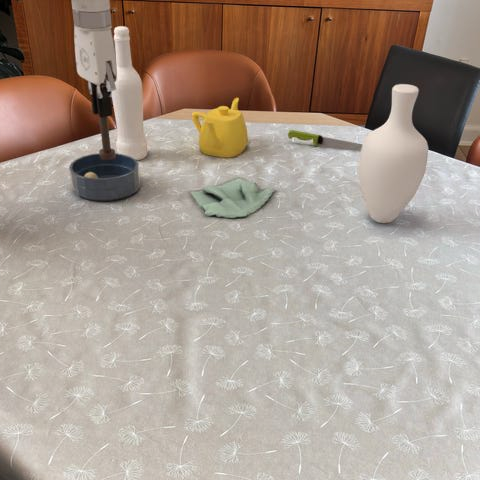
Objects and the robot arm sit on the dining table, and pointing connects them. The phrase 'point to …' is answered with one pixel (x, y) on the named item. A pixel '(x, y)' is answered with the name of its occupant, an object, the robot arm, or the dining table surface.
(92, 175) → the ball
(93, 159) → the bowl
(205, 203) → the cloth
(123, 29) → the bottle
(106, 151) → the muddler
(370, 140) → the vase
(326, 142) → the kitchen knife
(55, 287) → the dining table surface
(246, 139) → the teapot
